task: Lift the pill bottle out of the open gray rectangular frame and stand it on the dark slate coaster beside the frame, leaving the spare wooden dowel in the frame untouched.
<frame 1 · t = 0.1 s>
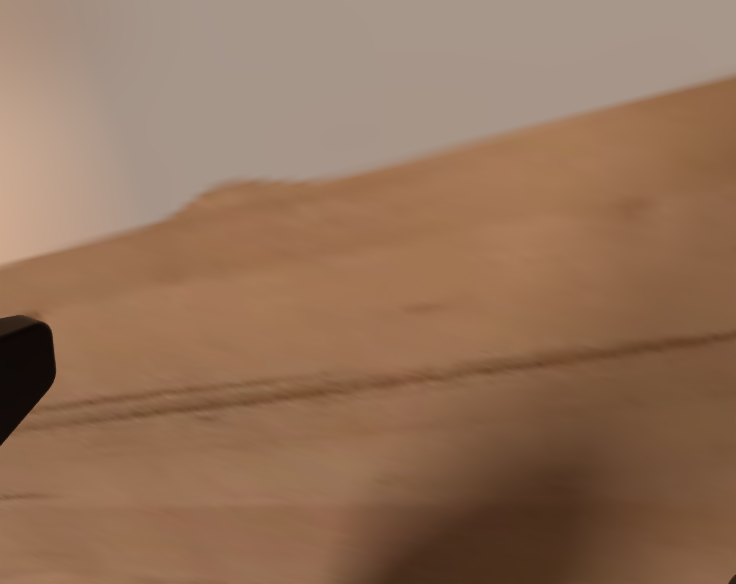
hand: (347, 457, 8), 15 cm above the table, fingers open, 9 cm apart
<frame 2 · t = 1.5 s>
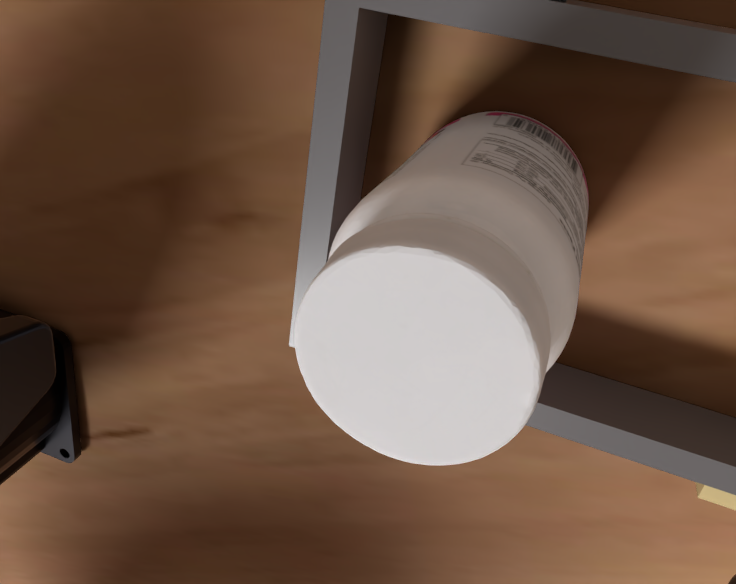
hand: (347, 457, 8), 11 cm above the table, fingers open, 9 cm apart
pill bottle: (497, 198, 17), resting in gray rectangular frame
gray rectangular frame: (652, 241, 16), on the table
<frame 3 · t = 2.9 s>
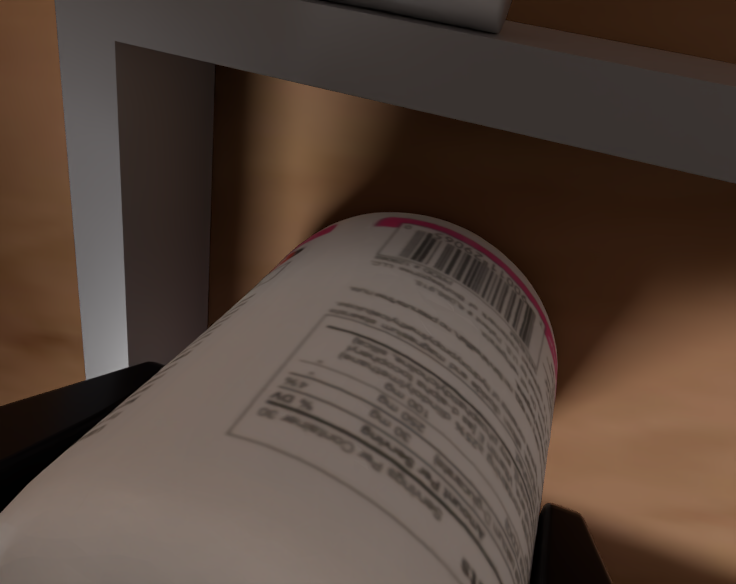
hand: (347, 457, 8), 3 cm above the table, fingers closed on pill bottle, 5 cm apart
pill bottle: (413, 340, 11), resting in gray rectangular frame, touching gripper
gray rectangular frame: (665, 427, 10), on the table
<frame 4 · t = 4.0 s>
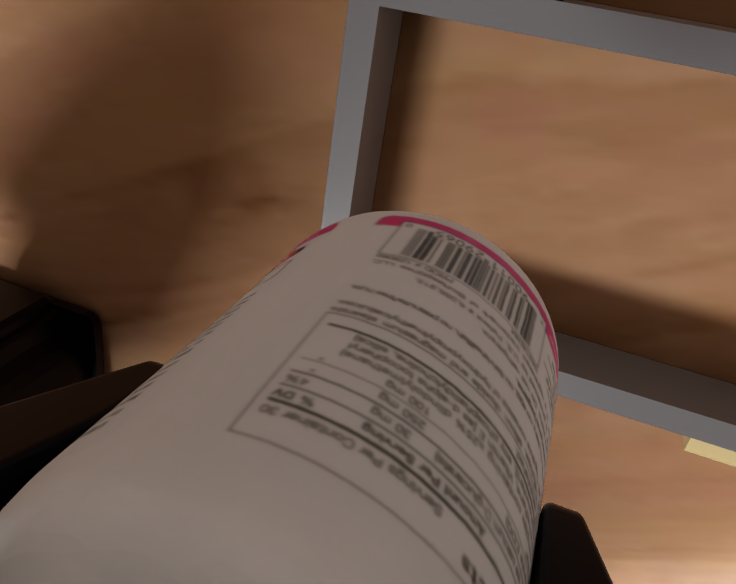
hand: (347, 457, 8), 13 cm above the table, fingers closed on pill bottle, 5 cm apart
pill bottle: (414, 338, 11), point 10 cm above the table, touching gripper
gray rectangular frame: (642, 217, 18), on the table
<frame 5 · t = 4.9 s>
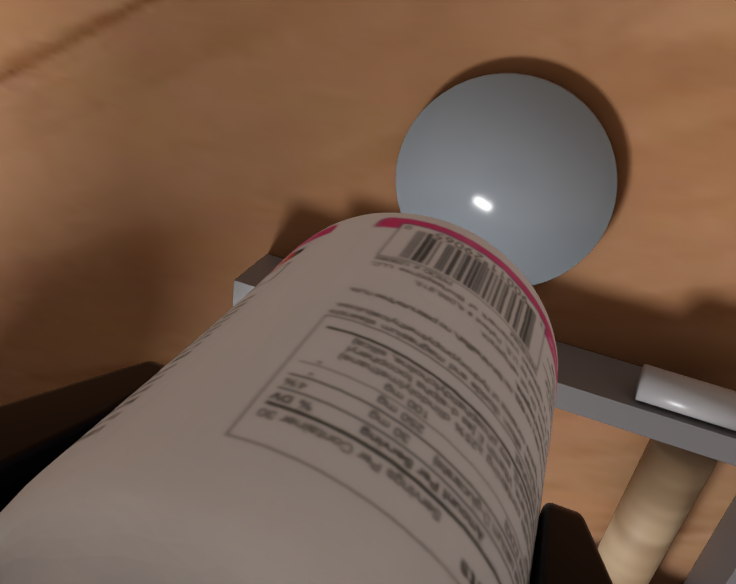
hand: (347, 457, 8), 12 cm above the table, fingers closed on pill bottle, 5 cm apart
pill bottle: (413, 340, 11), point 9 cm above the table, touching gripper
dowel: (624, 500, 21), resting in gray rectangular frame, tilted 45°
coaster: (502, 184, 18), on the table
gray rectangular frame: (478, 449, 22), on the table
when the fingers open (4 cm above the table, at t = 6.6 s): pill bottle stays where it is, resting on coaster.
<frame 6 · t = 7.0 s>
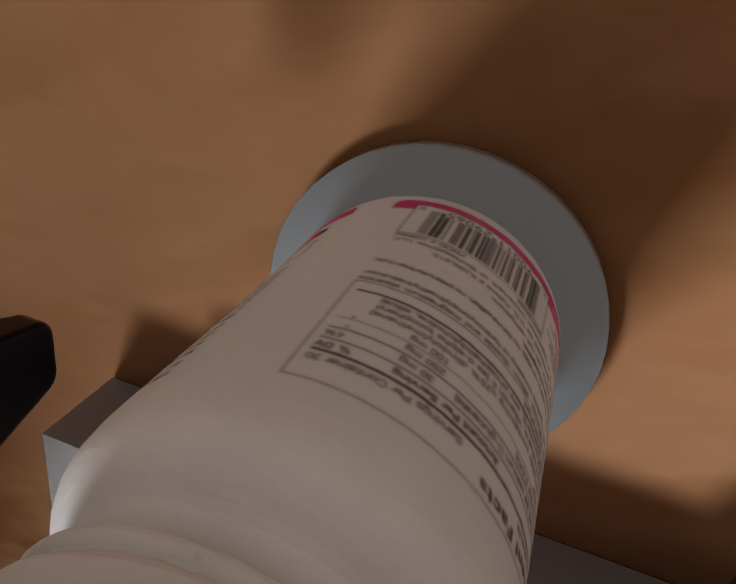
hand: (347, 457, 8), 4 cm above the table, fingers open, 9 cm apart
pill bottle: (426, 316, 11), resting on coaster
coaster: (431, 308, 12), on the table
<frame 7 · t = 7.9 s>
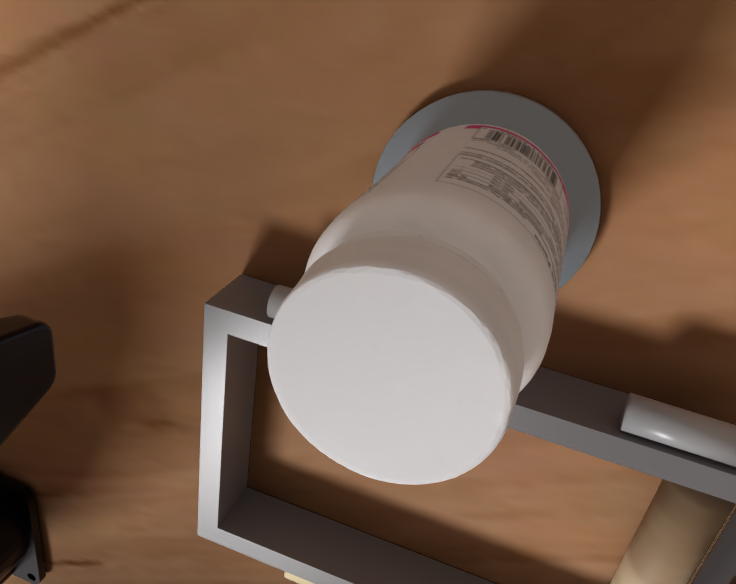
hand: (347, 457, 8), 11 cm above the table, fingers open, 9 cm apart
pill bottle: (479, 210, 17), resting on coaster
dowel: (630, 559, 19), point 1 cm above the table, tilted 110°
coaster: (482, 205, 17), on the table
gray rectangular frame: (460, 476, 21), on the table
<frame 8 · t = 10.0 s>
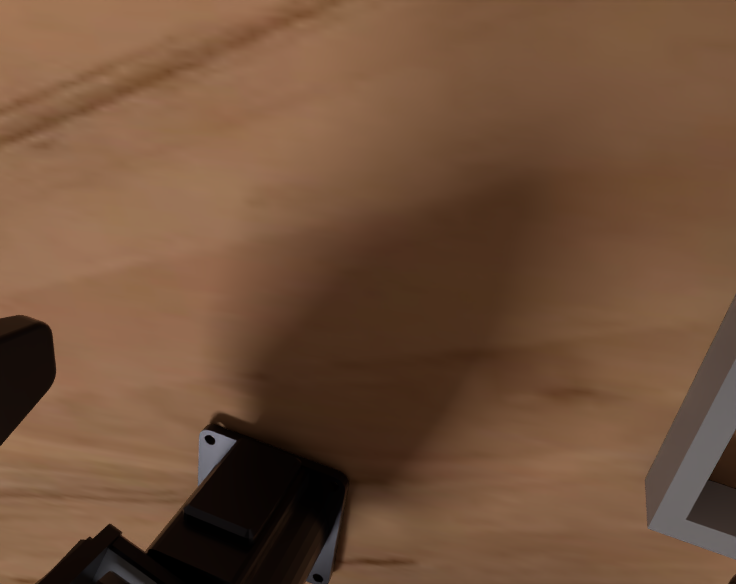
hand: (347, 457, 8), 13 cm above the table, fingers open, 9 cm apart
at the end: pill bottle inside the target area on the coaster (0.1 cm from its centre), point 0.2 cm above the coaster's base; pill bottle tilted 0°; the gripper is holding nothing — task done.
